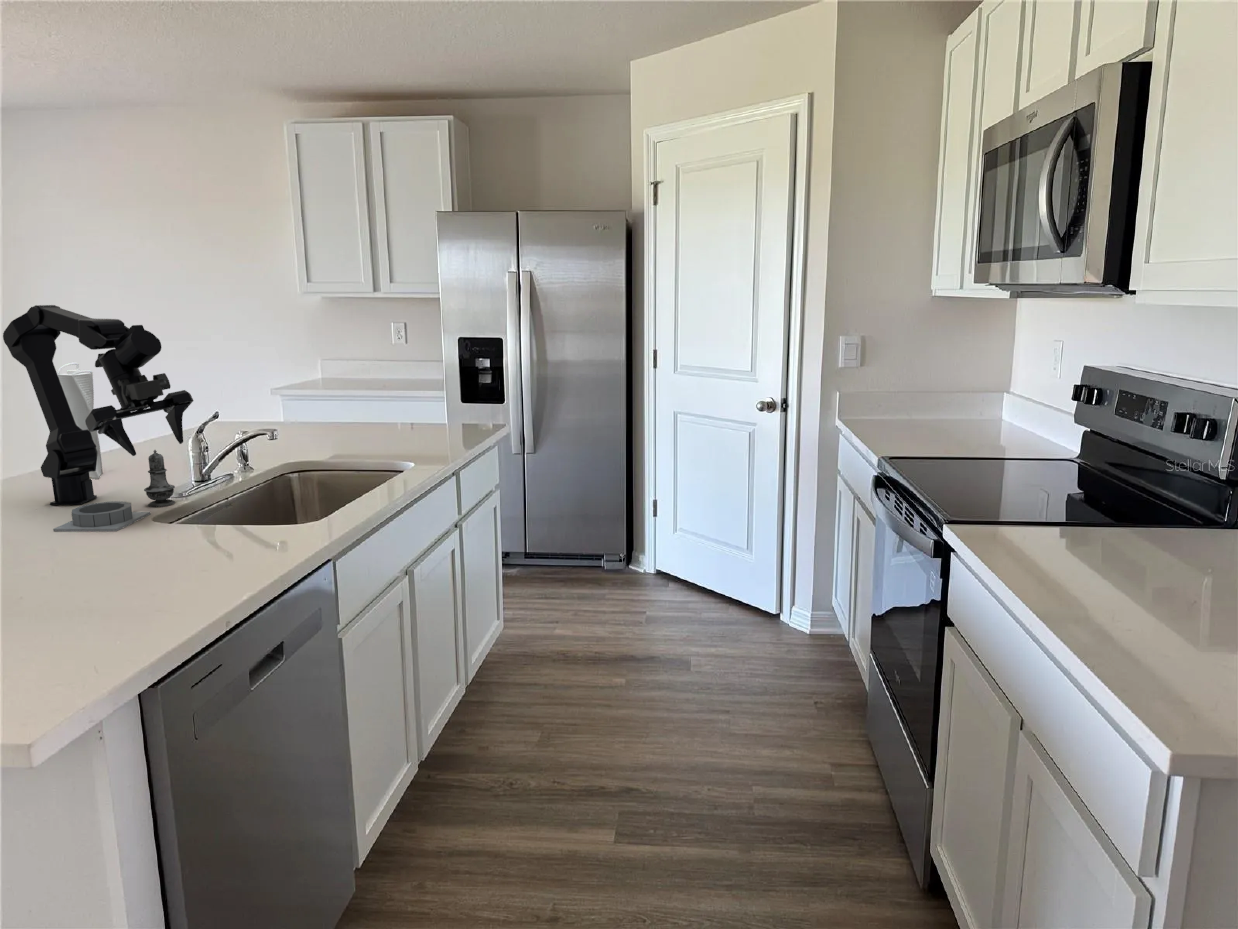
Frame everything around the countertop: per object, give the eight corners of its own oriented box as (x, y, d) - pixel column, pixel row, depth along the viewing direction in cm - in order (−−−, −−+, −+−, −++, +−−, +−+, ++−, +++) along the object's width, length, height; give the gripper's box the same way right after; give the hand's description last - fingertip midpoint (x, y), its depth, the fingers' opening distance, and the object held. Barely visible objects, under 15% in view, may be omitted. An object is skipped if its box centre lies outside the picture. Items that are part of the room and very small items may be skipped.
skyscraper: (70, 475, 205) (54, 362, 199) (108, 472, 209) (93, 361, 203) (64, 483, 198) (47, 365, 192) (104, 479, 201) (88, 364, 195)
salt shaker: (182, 501, 181) (176, 447, 178) (165, 508, 175) (158, 452, 172) (157, 500, 181) (150, 446, 179) (139, 507, 175) (132, 451, 173)
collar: (53, 531, 158) (51, 516, 158) (92, 514, 170) (90, 500, 169) (116, 531, 158) (114, 516, 158) (150, 514, 170) (148, 500, 170)
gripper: (85, 370, 152) (121, 447, 152) (185, 353, 166) (218, 423, 166) (70, 393, 159) (104, 467, 159) (167, 375, 174) (199, 442, 173)
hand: (158, 449), depth 164 cm, fingers open, 9 cm apart
